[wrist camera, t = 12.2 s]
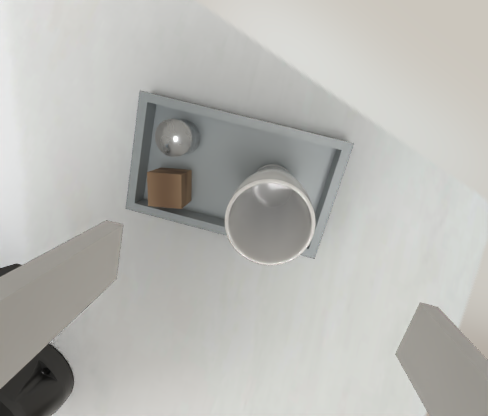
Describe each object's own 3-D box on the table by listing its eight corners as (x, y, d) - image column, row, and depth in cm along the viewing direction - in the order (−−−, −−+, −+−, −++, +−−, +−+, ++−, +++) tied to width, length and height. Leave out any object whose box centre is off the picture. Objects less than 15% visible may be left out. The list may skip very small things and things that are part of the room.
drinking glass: (271, 145, 33) (268, 157, 19) (311, 184, 34) (337, 224, 20) (233, 185, 35) (204, 224, 21) (272, 222, 36) (269, 283, 22)
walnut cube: (161, 198, 37) (148, 206, 33) (160, 167, 36) (146, 172, 32) (191, 200, 36) (181, 209, 32) (191, 169, 35) (181, 174, 31)
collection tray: (137, 202, 38) (125, 208, 35) (151, 93, 34) (139, 90, 31) (311, 248, 37) (314, 258, 34) (347, 142, 33) (354, 143, 30)
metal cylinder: (166, 149, 35) (152, 151, 31) (171, 116, 34) (157, 114, 30) (197, 157, 35) (187, 160, 31) (203, 124, 34) (193, 123, 30)
